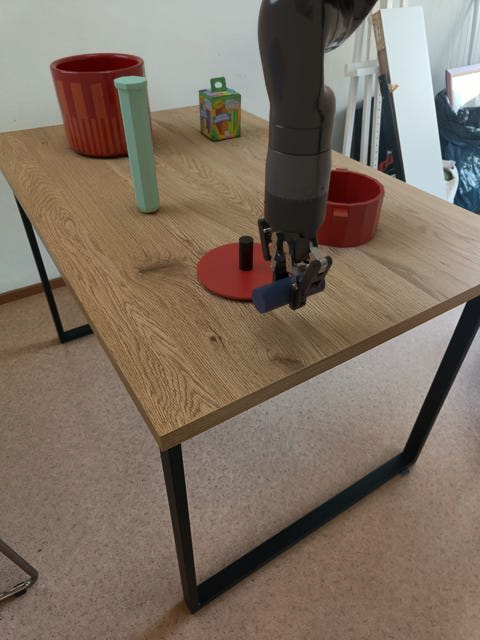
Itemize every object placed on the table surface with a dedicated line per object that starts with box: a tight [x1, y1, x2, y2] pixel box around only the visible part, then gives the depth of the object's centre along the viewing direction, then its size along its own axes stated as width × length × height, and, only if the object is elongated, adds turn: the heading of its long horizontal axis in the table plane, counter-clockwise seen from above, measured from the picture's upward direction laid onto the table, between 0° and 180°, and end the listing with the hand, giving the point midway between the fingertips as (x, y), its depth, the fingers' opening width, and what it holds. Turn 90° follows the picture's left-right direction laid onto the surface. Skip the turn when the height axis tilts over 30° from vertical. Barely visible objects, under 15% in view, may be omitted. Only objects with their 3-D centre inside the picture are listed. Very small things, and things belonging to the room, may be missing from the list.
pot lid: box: [196, 235, 290, 301], centre depth 76 cm, size 17×17×7 cm
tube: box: [252, 272, 326, 315], centre depth 63 cm, size 10×4×4 cm, turn 120°
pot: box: [317, 167, 386, 248], centre depth 87 cm, size 16×21×8 cm
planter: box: [49, 52, 154, 158], centre depth 119 cm, size 23×23×20 cm
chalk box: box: [198, 76, 242, 142], centre depth 127 cm, size 9×9×15 cm
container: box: [114, 76, 161, 214], centre depth 87 cm, size 6×6×25 cm
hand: (288, 298), depth 64 cm, fingers closed on tube, 3 cm apart
